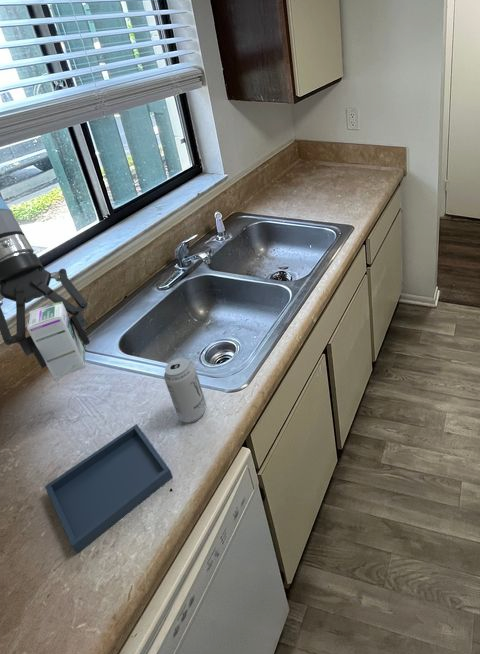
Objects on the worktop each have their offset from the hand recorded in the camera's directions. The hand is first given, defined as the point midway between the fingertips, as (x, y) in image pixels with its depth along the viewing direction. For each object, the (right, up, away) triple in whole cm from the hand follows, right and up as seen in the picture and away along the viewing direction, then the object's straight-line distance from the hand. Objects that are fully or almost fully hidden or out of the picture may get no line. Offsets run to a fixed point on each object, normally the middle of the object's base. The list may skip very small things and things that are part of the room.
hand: (66, 354), depth 90 cm
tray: (+12, -24, -4) cm, 28 cm away
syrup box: (-3, -4, +4) cm, 7 cm away
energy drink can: (+21, -18, +10) cm, 29 cm away
